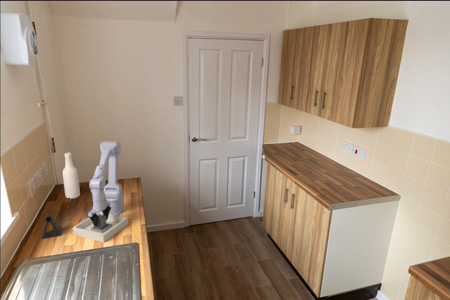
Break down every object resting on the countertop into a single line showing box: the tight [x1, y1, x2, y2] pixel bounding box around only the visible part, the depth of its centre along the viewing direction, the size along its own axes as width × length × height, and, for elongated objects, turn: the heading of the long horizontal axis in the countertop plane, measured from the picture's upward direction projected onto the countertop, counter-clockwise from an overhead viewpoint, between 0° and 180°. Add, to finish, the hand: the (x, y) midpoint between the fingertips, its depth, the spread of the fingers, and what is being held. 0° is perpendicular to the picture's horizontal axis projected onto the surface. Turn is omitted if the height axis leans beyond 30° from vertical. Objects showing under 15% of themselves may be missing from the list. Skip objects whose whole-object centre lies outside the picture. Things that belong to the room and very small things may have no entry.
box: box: [72, 211, 129, 243], centre depth 166 cm, size 20×20×4 cm
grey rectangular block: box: [95, 215, 107, 230], centre depth 166 cm, size 4×4×7 cm
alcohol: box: [62, 152, 81, 200], centre depth 201 cm, size 9×9×30 cm
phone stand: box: [40, 211, 62, 240], centre depth 159 cm, size 9×6×12 cm, turn 115°
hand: (101, 222), depth 166 cm, fingers open, 7 cm apart
